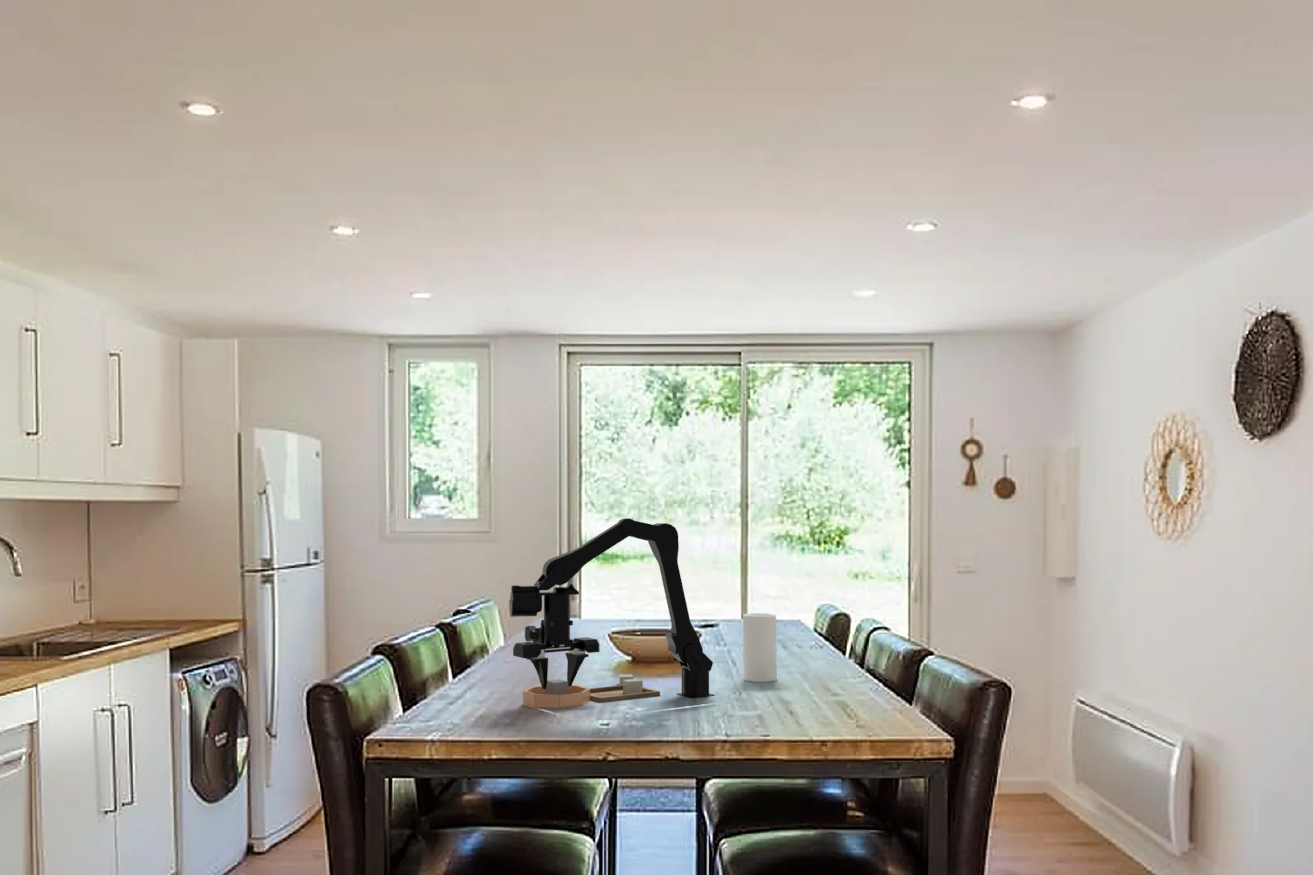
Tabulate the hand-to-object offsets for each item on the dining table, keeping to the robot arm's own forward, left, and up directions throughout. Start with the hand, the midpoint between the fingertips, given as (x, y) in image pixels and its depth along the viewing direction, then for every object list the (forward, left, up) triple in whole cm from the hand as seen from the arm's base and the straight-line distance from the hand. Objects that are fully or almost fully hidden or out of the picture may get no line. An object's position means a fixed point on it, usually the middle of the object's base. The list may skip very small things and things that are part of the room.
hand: (556, 687), depth 234 cm
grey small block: (-1, -19, -3) cm, 19 cm away
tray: (0, -15, -4) cm, 15 cm away
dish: (0, 0, -4) cm, 4 cm away
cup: (+2, -58, -4) cm, 58 cm away
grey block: (0, 0, -3) cm, 3 cm away
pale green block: (+11, -24, -1) cm, 27 cm away
